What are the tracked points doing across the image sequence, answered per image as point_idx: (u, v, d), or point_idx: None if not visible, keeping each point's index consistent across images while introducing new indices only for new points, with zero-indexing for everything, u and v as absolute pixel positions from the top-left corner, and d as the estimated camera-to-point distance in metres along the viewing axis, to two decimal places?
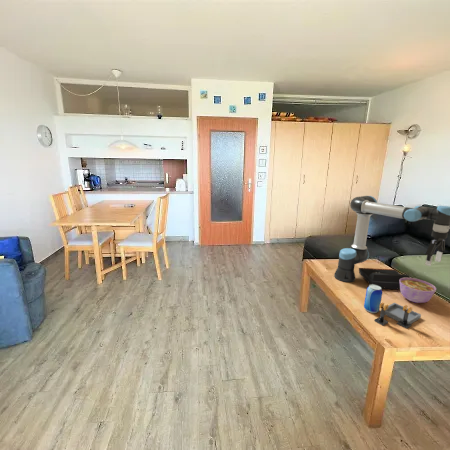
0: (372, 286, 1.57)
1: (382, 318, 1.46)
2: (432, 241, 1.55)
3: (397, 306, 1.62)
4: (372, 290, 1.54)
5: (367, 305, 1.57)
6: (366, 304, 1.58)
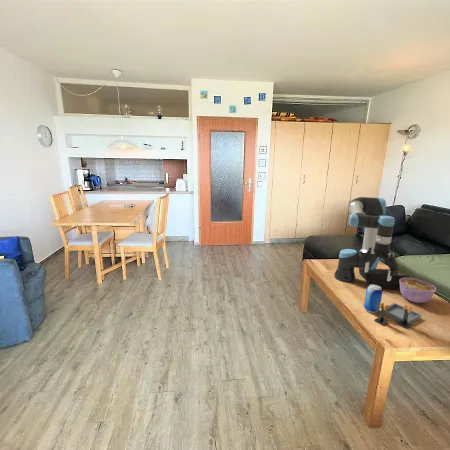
0: (372, 286, 1.57)
1: (382, 318, 1.46)
2: None
3: (397, 306, 1.62)
4: (372, 290, 1.54)
5: (367, 305, 1.57)
6: (366, 304, 1.58)
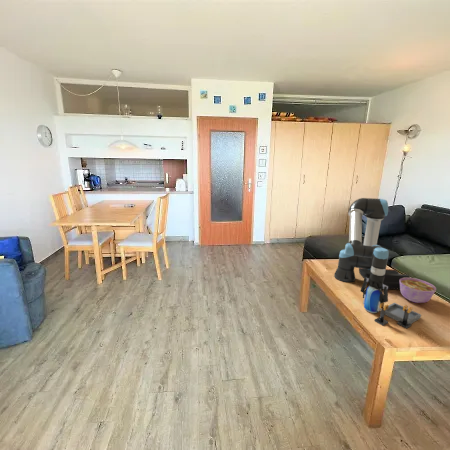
0: None
1: (382, 318, 1.46)
2: None
3: (397, 306, 1.62)
4: (372, 290, 1.54)
5: (367, 305, 1.57)
6: (366, 304, 1.58)
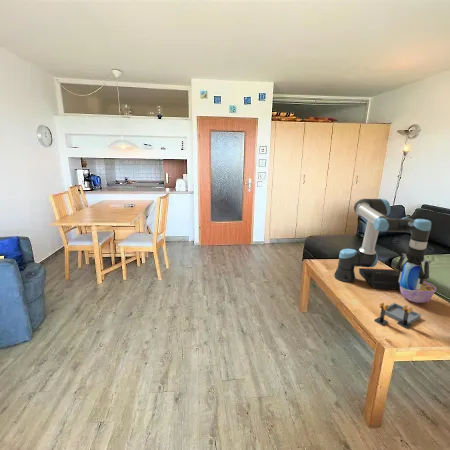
0: None
1: (382, 318, 1.46)
2: None
3: (397, 306, 1.62)
4: (411, 266, 1.39)
5: (405, 283, 1.43)
6: (403, 282, 1.44)
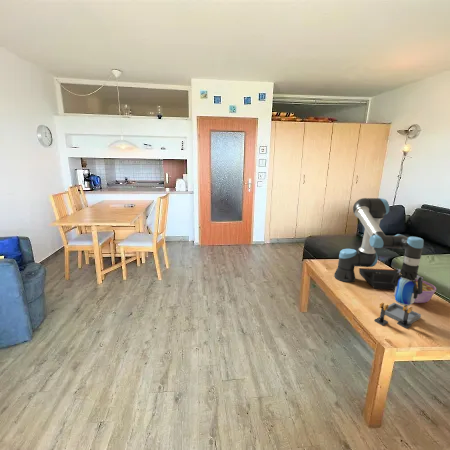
0: None
1: (382, 318, 1.46)
2: None
3: (397, 306, 1.62)
4: (405, 281, 1.47)
5: (399, 297, 1.50)
6: (398, 296, 1.50)
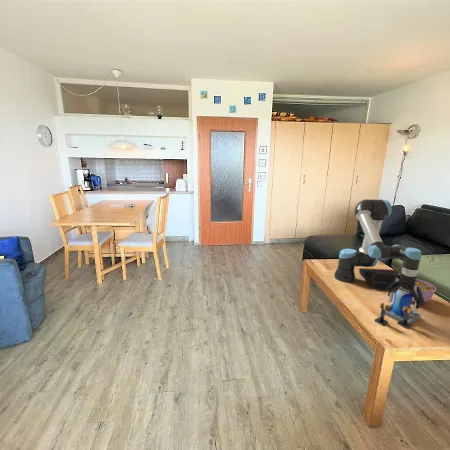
0: (401, 289, 1.52)
1: (382, 318, 1.46)
2: None
3: None
4: (402, 294, 1.49)
5: (396, 309, 1.52)
6: (395, 308, 1.53)
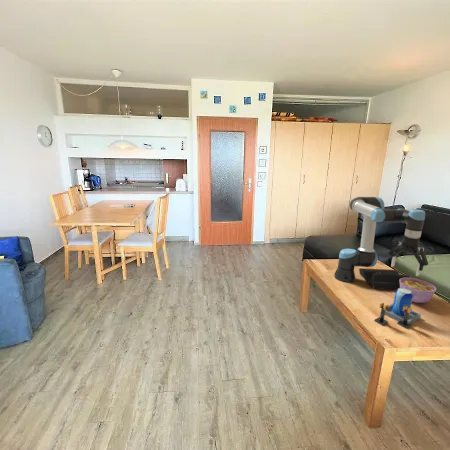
0: (401, 290, 1.52)
1: (382, 318, 1.46)
2: None
3: None
4: (402, 294, 1.49)
5: (396, 309, 1.52)
6: (395, 308, 1.53)
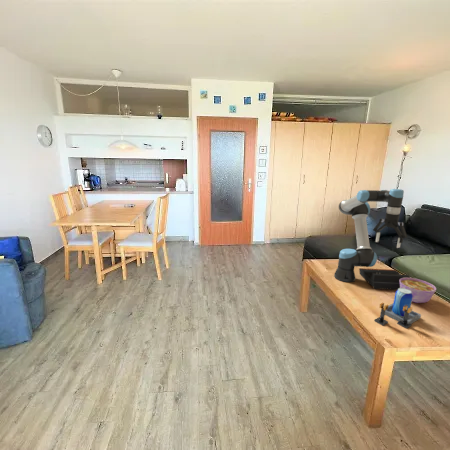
0: (401, 290, 1.52)
1: (382, 318, 1.46)
2: None
3: None
4: (402, 294, 1.49)
5: (396, 309, 1.52)
6: (395, 308, 1.53)
